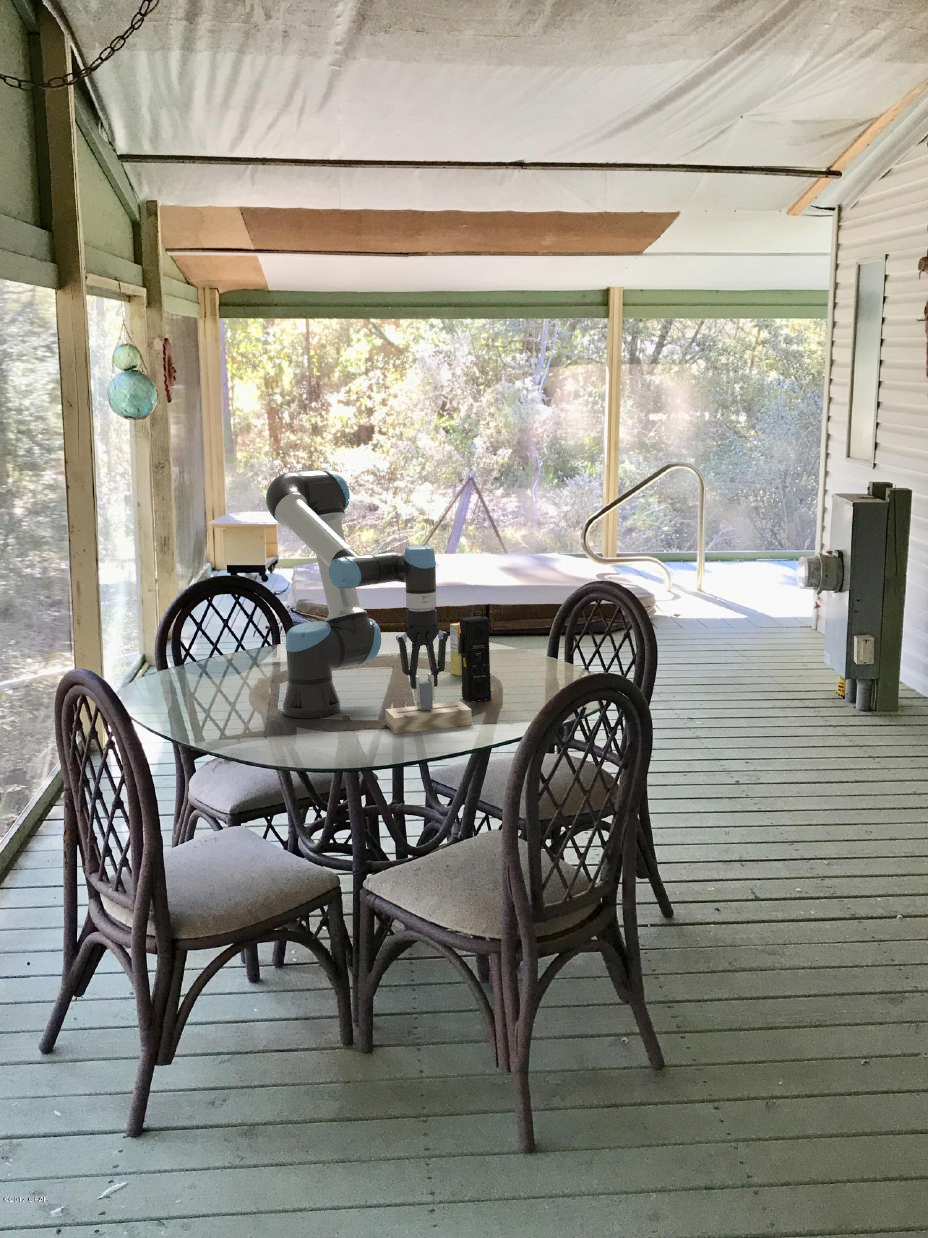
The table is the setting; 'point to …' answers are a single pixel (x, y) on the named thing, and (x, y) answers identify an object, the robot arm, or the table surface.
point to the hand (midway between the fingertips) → (424, 700)
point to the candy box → (455, 649)
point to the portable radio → (475, 658)
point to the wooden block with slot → (428, 717)
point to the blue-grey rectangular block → (425, 695)
